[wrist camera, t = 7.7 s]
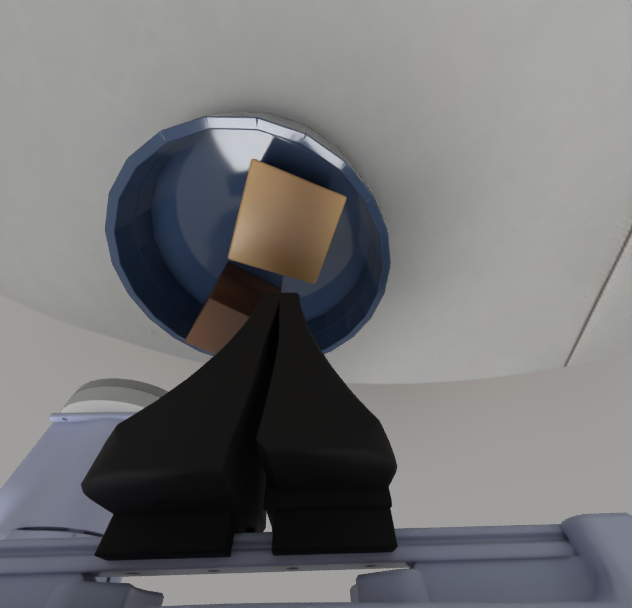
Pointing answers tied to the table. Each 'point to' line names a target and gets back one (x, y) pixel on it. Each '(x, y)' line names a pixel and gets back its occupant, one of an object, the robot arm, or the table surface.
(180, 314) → the bowl
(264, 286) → the walnut block
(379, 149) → the table surface
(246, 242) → the beech block
